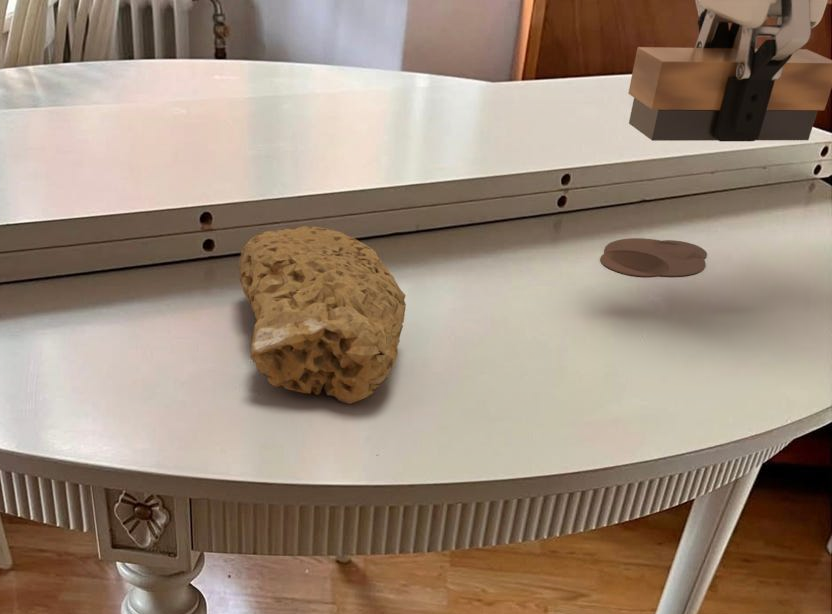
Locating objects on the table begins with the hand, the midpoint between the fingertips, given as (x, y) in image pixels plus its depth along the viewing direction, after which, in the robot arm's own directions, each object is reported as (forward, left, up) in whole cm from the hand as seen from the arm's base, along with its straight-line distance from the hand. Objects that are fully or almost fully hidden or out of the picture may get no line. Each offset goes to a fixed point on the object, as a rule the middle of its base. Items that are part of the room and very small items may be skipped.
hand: (719, 126), depth 72 cm
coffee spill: (-3, -11, -14) cm, 18 cm away
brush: (0, 0, 0) cm, 0 cm away
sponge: (+30, +5, -14) cm, 33 cm away
